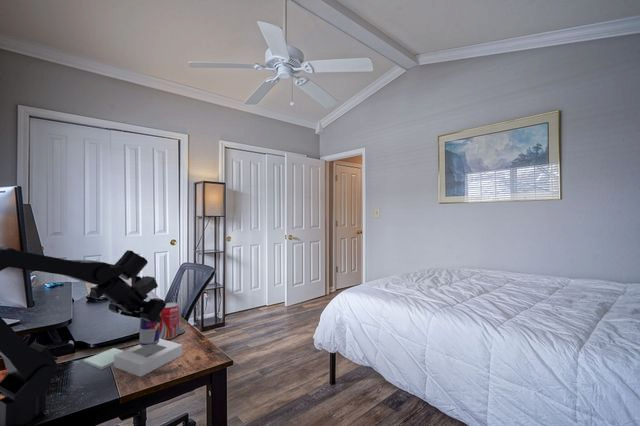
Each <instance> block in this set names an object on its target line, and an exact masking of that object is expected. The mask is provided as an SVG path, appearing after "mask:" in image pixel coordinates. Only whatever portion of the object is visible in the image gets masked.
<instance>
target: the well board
mask: <svg viewBox="0 0 640 426" xmlns="http://www.w3.org/2000/svg"><path fill="white" fill-rule="evenodd" d="M122 351H123V352H120V353H118V354H116V355H114V364H113V368H116V369H119V370H120V371H123V372H126V373H129V374H132V375H134V376H137V377H144V376H146V375H147V374H149V373H151V372H153V371H155V370H156V369H158V368H160V367H162V366H164V365H167V364H168V363H171V361H174V360H176V359H178V358H180V357H181V356H182V355H183V345H182V344H181V343H176V342H173V341H169V340H163V339H161V338H159V342H158V344H156V345H154V346H151V347H141V346H140V345H139V344H138V345H135V346H133V347H131V348H130V347H129V348H127V349H126V350H122Z"/></svg>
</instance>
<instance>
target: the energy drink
mask: <svg viewBox="0 0 640 426" xmlns="http://www.w3.org/2000/svg"><path fill="white" fill-rule="evenodd" d="M142 310H143V309H141V311H142ZM159 331H160V323H158V322H149V321H144V320H141V317H140V318H139V342H138V343H139V344H138V345H140V346H141V347H151V346H154V345H156V344H158V342H159Z"/></svg>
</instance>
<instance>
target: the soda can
mask: <svg viewBox="0 0 640 426" xmlns="http://www.w3.org/2000/svg"><path fill="white" fill-rule="evenodd" d="M160 316H161V319H162V320H161V322H160V331H159V338H160V339H163V340H167V341H169V340H172V339H174V338H175V337H177V336H178V335H179V332H180V331H179V330H180V307H179V303H178V302H172V301H171V302H166V306H165V308H164V309H163V310H162V312H161V313H160Z"/></svg>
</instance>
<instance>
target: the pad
mask: <svg viewBox="0 0 640 426" xmlns="http://www.w3.org/2000/svg"><path fill="white" fill-rule="evenodd" d="M123 351H124V350H122V349H118V348H117V347H116V348H115V347H112V348H111V349H108V350H105V351H103V352H102V351H101V352H100V353H97V354H95V355H93V356H90V357H87V358H84V359H83V364H87V365H89V366H91V367H94V368H95V369H96V368H97V369H99V370H104V369H106V368H108V367H110V366H114V355H116V354H118V353H120V352H123Z"/></svg>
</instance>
